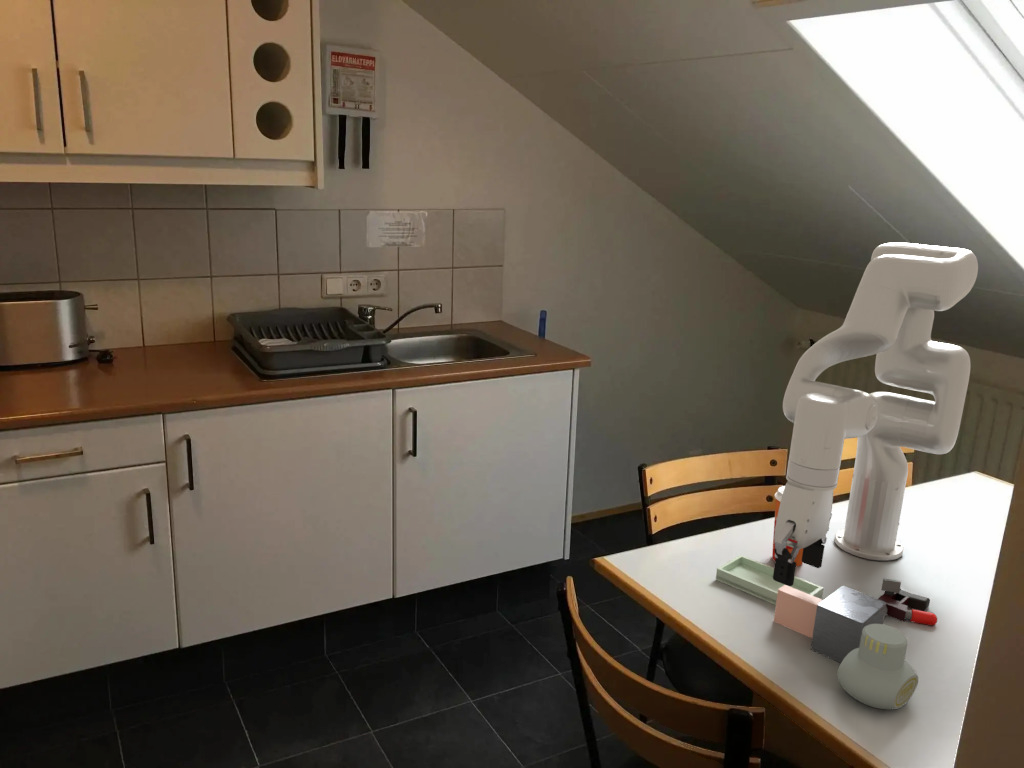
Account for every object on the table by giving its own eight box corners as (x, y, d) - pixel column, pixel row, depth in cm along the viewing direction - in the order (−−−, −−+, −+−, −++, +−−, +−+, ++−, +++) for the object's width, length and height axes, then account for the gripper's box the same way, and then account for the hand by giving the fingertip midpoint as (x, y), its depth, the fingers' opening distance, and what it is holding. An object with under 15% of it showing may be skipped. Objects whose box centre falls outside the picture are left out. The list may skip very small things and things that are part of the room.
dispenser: (832, 627, 137) (839, 584, 135) (878, 646, 132) (886, 602, 130) (807, 648, 131) (814, 603, 129) (854, 669, 126) (862, 623, 124)
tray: (739, 565, 157) (740, 554, 157) (822, 598, 146) (823, 587, 146) (715, 579, 151) (717, 568, 151) (800, 615, 141) (801, 603, 140)
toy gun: (860, 618, 141) (865, 592, 140) (889, 594, 149) (893, 570, 148) (920, 643, 134) (925, 616, 133) (946, 616, 143) (951, 591, 141)
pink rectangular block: (780, 617, 140) (785, 584, 139) (844, 644, 133) (850, 610, 131) (773, 622, 138) (778, 589, 137) (838, 650, 131) (843, 616, 129)
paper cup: (776, 547, 165) (785, 481, 161) (814, 560, 160) (824, 492, 157) (759, 560, 159) (768, 492, 155) (799, 574, 155) (809, 504, 151)
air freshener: (865, 668, 127) (875, 609, 124) (920, 695, 121) (932, 634, 118) (827, 695, 120) (837, 633, 117) (883, 726, 114) (895, 661, 111)
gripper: (814, 455, 139) (800, 550, 143) (763, 478, 127) (748, 581, 131) (859, 468, 134) (843, 566, 138) (810, 493, 122) (793, 599, 126)
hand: (797, 573), depth 135 cm, fingers open, 9 cm apart
